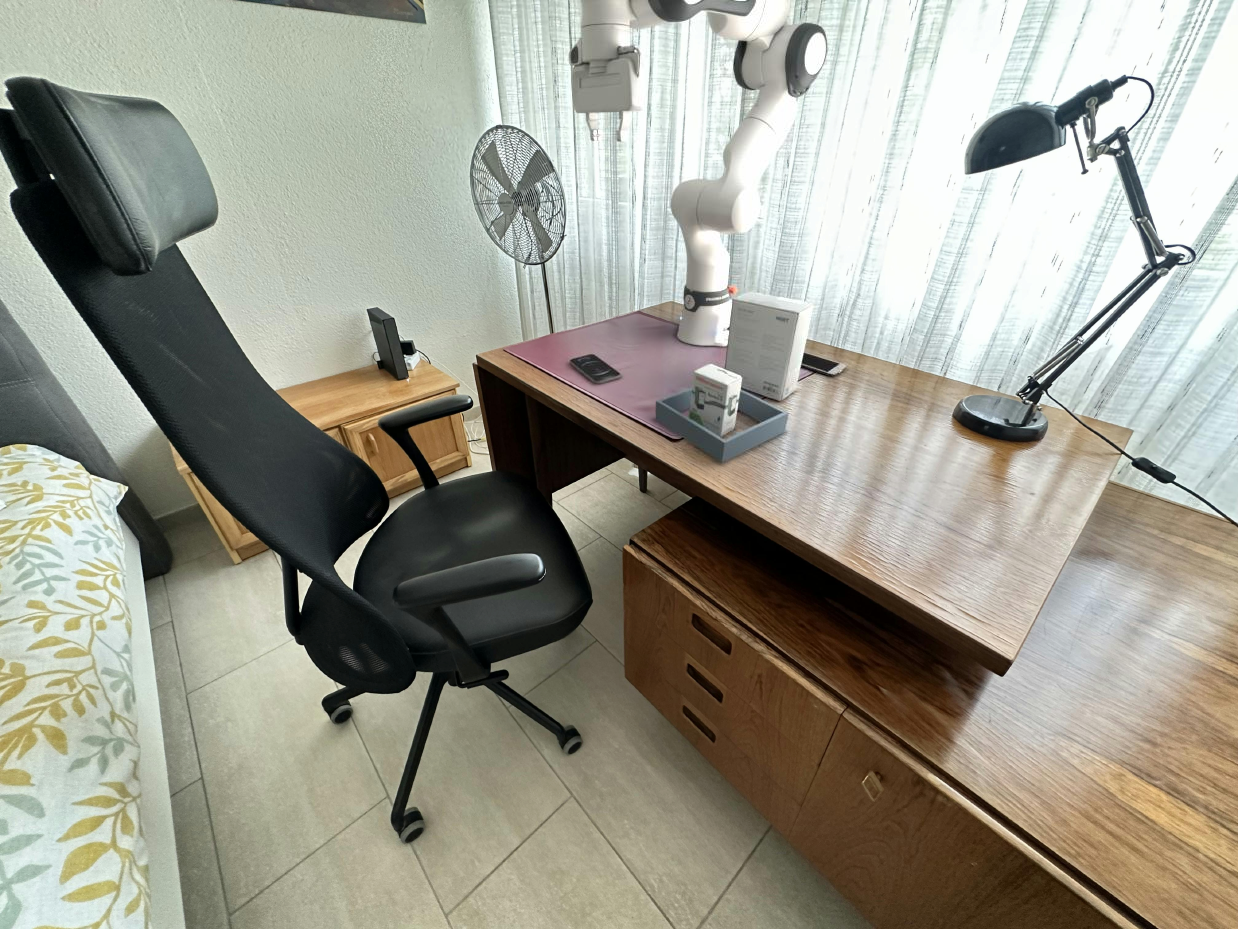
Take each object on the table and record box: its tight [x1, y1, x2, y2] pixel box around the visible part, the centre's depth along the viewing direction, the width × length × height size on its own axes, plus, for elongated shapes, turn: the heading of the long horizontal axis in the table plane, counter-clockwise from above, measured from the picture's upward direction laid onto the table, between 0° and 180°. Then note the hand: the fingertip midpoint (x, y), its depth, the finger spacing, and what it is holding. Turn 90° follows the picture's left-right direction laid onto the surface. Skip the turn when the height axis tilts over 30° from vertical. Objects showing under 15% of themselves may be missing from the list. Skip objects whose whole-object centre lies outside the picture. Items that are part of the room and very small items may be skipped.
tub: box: [655, 387, 790, 464], centre depth 96 cm, size 18×20×4 cm
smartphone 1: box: [569, 353, 621, 385], centre depth 120 cm, size 8×1×15 cm
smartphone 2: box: [800, 351, 847, 377], centre depth 120 cm, size 7×15×1 cm, turn 43°
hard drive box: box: [724, 291, 815, 402], centre depth 105 cm, size 16×8×20 cm, turn 47°
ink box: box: [688, 363, 742, 438], centre depth 94 cm, size 9×5×12 cm, turn 43°
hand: (608, 141), depth 94 cm, fingers open, 8 cm apart
